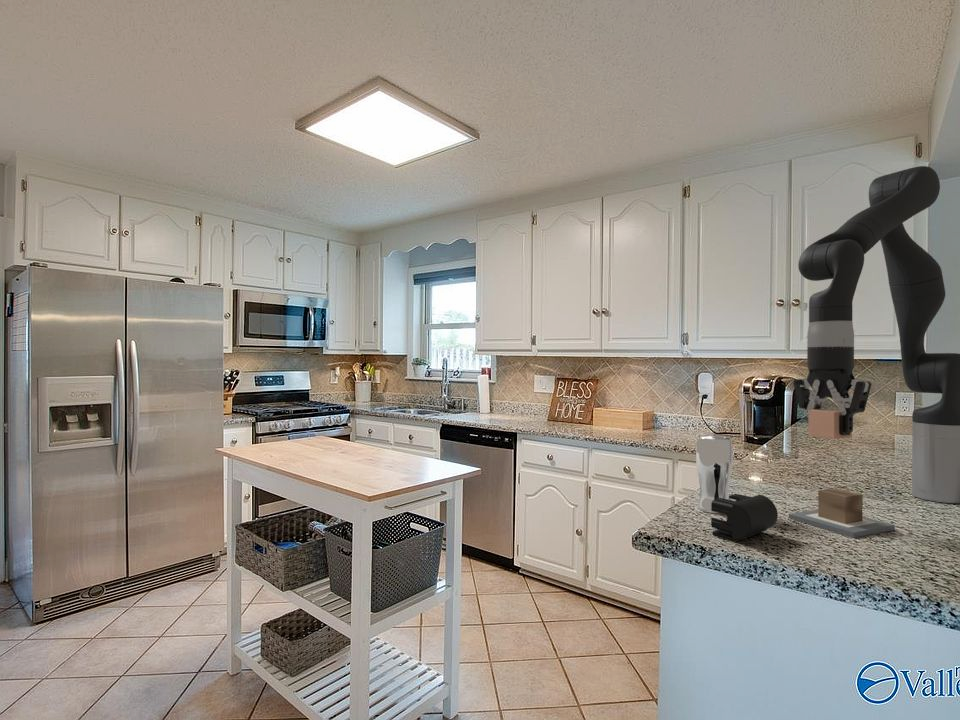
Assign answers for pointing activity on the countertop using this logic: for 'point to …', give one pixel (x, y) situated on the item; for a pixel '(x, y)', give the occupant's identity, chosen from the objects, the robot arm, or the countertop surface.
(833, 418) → the terracotta block
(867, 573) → the countertop surface
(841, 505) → the walnut block
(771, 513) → the end cap
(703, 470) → the beer glass
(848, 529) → the plate
